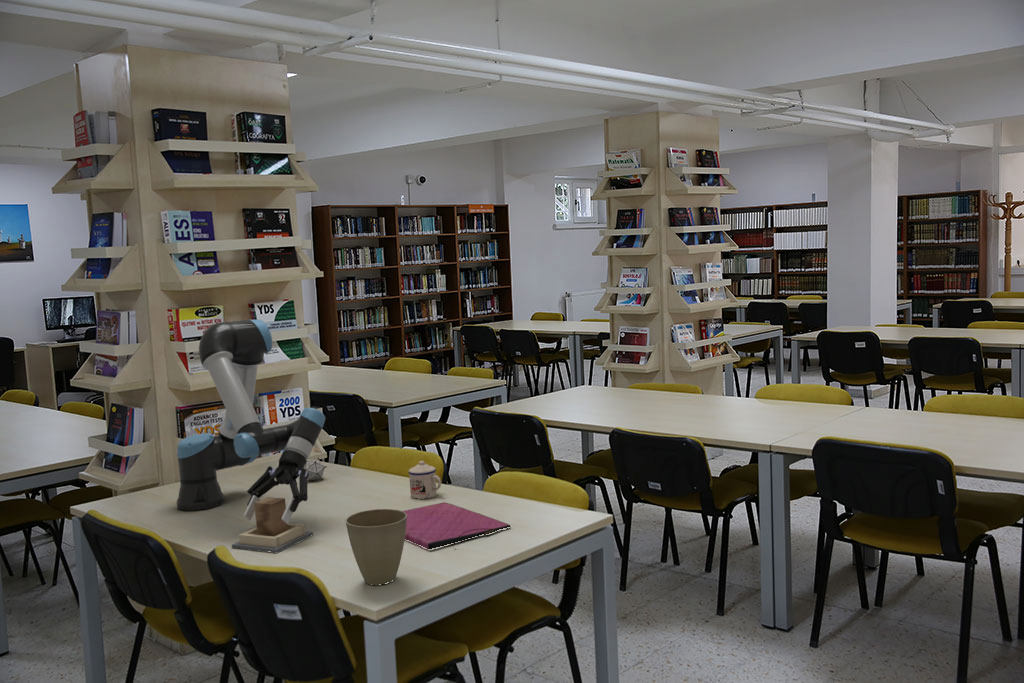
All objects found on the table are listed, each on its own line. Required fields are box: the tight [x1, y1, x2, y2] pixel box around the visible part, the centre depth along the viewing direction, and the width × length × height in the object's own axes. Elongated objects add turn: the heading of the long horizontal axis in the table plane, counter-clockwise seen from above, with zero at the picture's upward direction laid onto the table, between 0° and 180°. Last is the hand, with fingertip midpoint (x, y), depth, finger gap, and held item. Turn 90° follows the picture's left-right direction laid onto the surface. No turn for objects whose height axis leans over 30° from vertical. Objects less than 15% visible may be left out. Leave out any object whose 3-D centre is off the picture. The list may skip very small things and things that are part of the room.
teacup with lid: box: [408, 460, 442, 500], centre depth 290 cm, size 12×9×12 cm
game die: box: [304, 457, 328, 483], centre depth 321 cm, size 9×8×10 cm
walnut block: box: [254, 496, 288, 537], centre depth 251 cm, size 6×6×11 cm
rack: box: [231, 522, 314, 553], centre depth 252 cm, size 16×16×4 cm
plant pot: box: [345, 508, 407, 586], centre depth 215 cm, size 15×15×16 cm
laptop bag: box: [402, 501, 511, 549], centre depth 256 cm, size 40×4×27 cm
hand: (265, 519), depth 249 cm, fingers open, 13 cm apart
